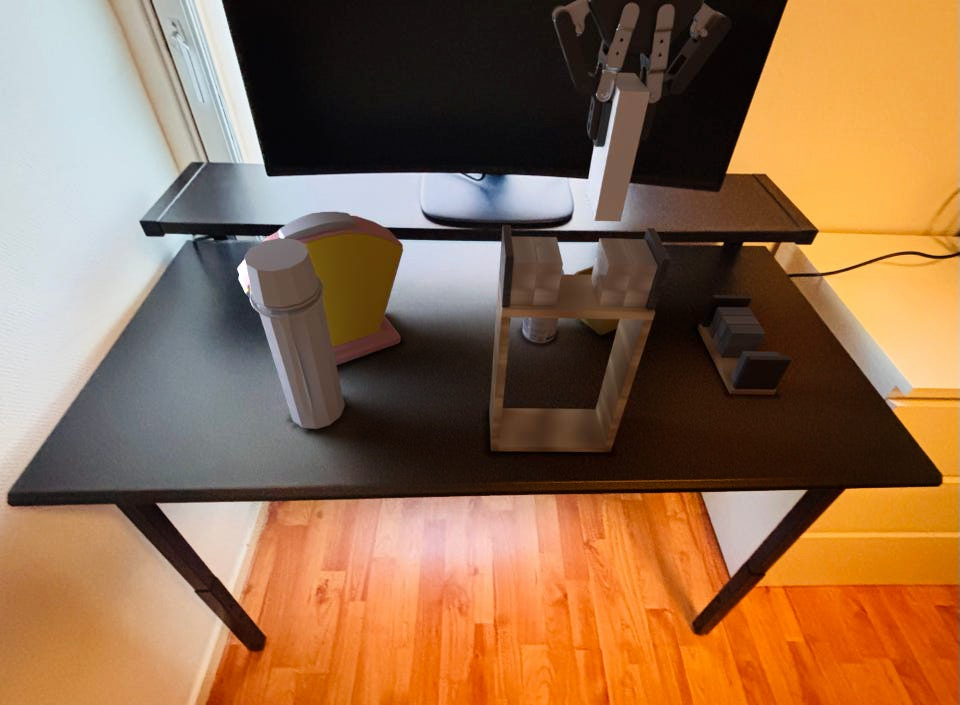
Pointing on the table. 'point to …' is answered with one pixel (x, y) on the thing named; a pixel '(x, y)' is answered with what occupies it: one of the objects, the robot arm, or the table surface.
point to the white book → (617, 149)
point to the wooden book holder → (581, 279)
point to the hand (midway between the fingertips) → (614, 143)
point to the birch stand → (566, 425)
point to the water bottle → (296, 329)
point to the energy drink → (540, 328)
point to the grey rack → (740, 347)
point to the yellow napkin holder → (348, 277)
